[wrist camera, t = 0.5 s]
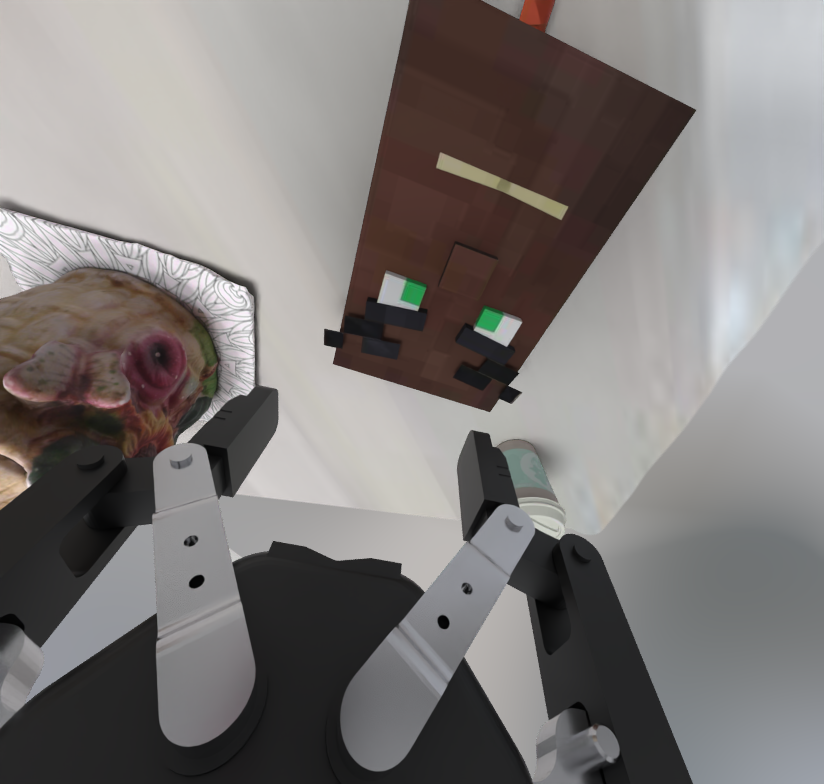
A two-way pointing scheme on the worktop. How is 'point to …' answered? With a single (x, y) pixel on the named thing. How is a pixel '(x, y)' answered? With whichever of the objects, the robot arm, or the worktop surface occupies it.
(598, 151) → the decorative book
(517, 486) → the coffee cup
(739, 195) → the worktop surface
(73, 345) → the cookie jar
